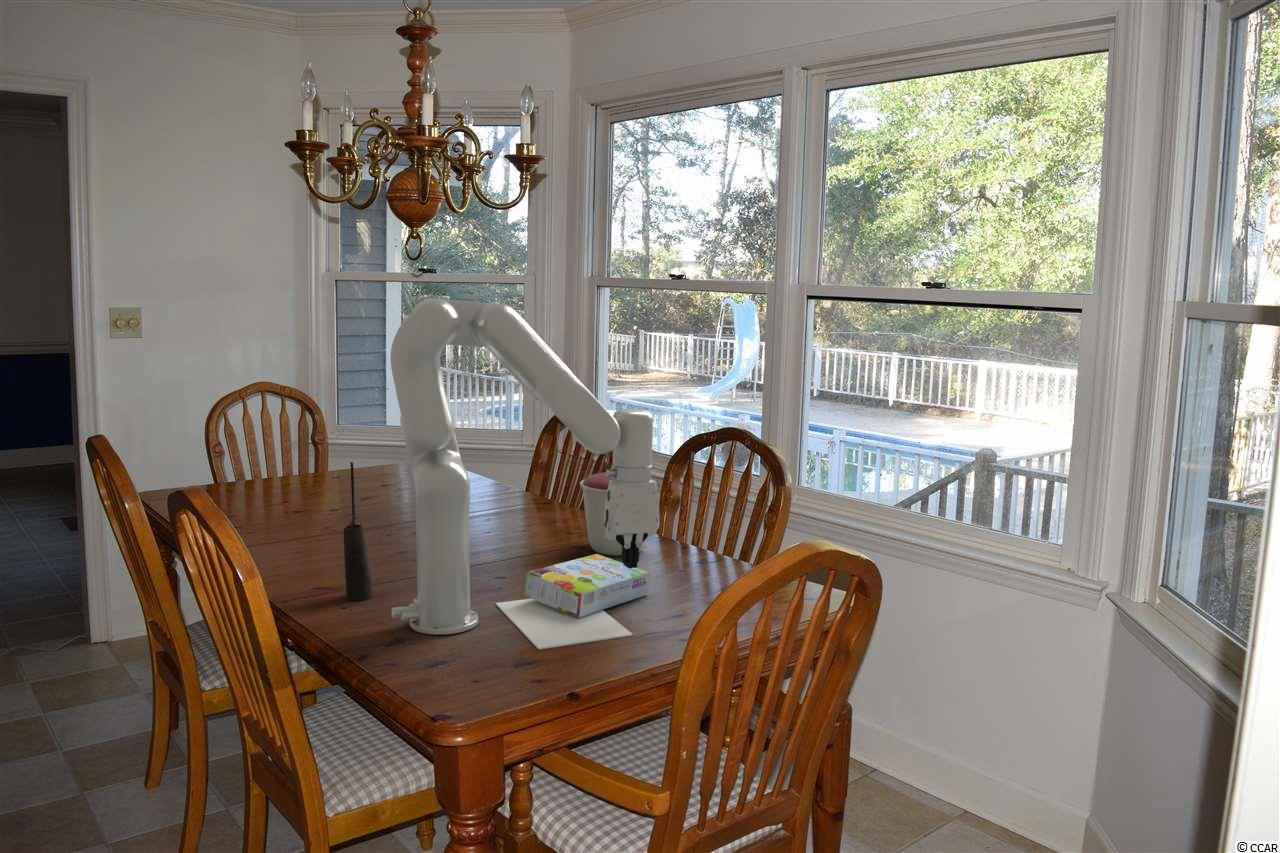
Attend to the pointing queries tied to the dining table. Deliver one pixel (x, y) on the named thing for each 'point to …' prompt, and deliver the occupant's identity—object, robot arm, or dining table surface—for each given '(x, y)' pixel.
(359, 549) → the butter churn
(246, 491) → the dining table surface
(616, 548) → the canister
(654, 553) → the dining table surface
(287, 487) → the dining table surface
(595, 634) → the mat
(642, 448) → the robot arm
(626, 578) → the snack box
